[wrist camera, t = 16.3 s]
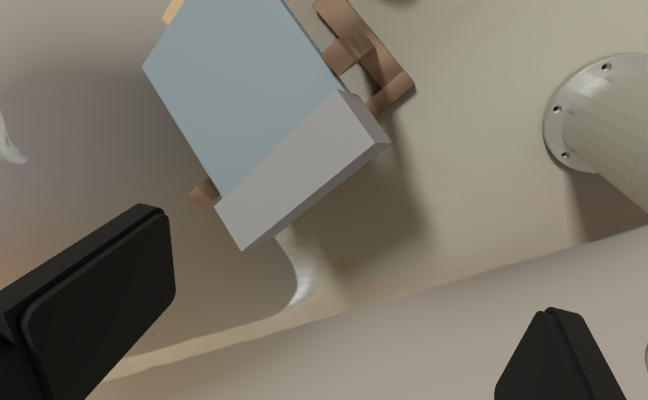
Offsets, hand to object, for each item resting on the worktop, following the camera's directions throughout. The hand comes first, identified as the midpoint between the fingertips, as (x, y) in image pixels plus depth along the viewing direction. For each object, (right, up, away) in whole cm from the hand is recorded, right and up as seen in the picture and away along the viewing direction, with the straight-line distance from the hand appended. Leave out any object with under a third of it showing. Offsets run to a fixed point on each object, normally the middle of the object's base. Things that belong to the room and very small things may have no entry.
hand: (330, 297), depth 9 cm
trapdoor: (-6, +12, +26) cm, 29 cm away
